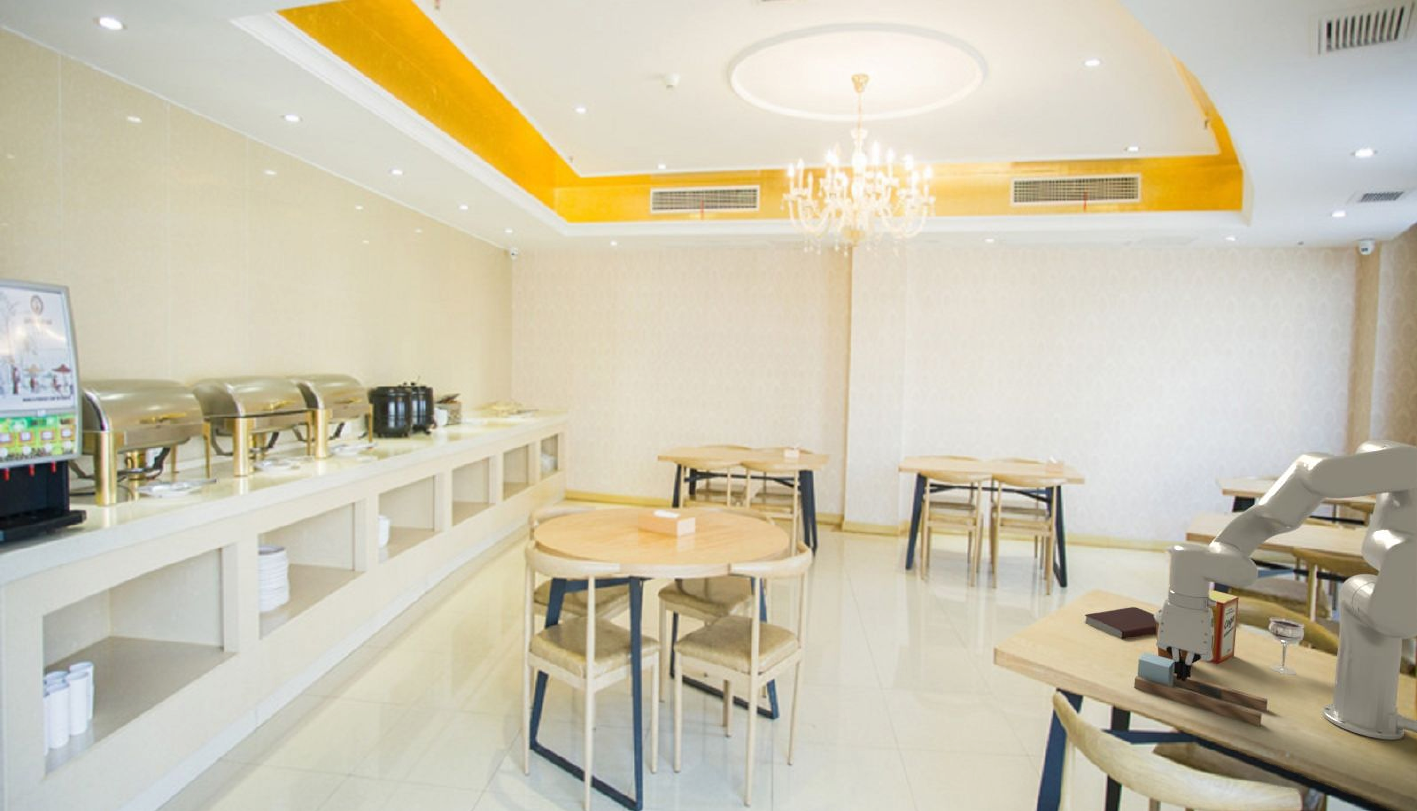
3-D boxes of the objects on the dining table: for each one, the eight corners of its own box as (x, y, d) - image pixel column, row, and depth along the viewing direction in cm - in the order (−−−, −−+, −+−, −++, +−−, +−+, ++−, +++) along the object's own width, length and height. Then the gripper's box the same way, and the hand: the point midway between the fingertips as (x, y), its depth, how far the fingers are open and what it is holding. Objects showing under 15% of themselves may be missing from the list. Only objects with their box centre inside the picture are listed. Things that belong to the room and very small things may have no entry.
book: (1173, 633, 197) (1174, 621, 196) (1122, 641, 190) (1122, 629, 190) (1133, 616, 208) (1133, 606, 208) (1083, 624, 202) (1083, 612, 202)
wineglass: (1302, 678, 169) (1307, 630, 168) (1267, 671, 172) (1271, 623, 171) (1298, 668, 174) (1302, 621, 174) (1263, 661, 178) (1267, 615, 177)
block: (1172, 685, 164) (1174, 660, 163) (1167, 693, 160) (1169, 667, 160) (1143, 676, 168) (1145, 652, 168) (1137, 683, 164) (1138, 659, 164)
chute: (1266, 708, 154) (1267, 699, 154) (1259, 726, 146) (1260, 716, 146) (1146, 673, 170) (1146, 664, 170) (1134, 687, 162) (1134, 678, 162)
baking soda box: (1204, 646, 186) (1209, 587, 185) (1233, 655, 181) (1238, 595, 180) (1189, 654, 181) (1193, 594, 180) (1218, 664, 176) (1223, 601, 175)
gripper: (1231, 604, 156) (1225, 684, 158) (1153, 587, 167) (1148, 662, 168) (1225, 613, 151) (1218, 695, 152) (1145, 595, 161) (1140, 672, 163)
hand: (1181, 678), depth 160 cm, fingers closed
